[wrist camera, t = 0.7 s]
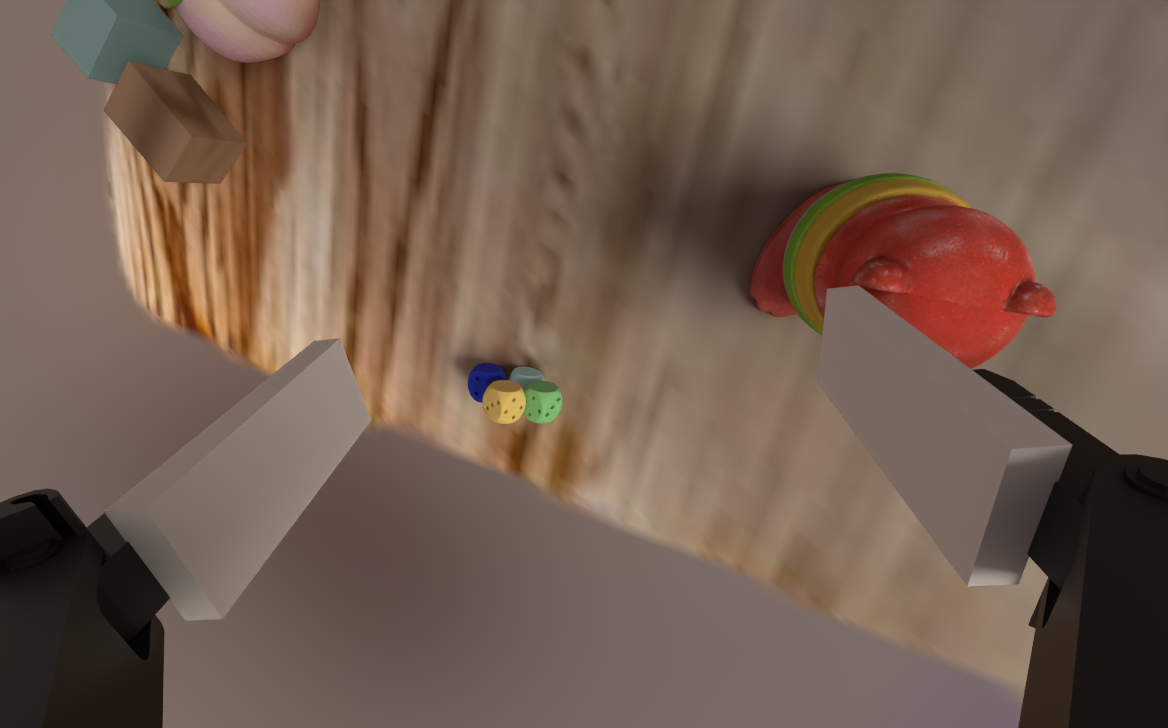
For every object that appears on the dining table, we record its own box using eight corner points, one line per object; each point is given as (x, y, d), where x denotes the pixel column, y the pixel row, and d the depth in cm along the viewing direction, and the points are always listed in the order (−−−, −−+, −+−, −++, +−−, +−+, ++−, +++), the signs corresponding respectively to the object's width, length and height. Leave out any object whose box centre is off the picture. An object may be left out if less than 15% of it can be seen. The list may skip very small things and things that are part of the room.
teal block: (150, -5, 41) (78, -31, 37) (184, 36, 42) (117, 15, 37) (122, 52, 44) (51, 35, 39) (154, 91, 44) (87, 78, 39)
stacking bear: (739, 305, 37) (754, 390, 20) (792, 159, 33) (861, 121, 17) (893, 349, 35) (1042, 481, 19) (966, 201, 31) (1232, 204, 15)
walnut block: (167, 119, 44) (103, 110, 40) (192, 75, 43) (128, 60, 38) (221, 183, 45) (164, 181, 40) (248, 143, 43) (192, 136, 39)
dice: (482, 383, 44) (445, 412, 38) (485, 356, 43) (447, 380, 38) (568, 405, 43) (544, 438, 37) (573, 377, 42) (548, 406, 36)
